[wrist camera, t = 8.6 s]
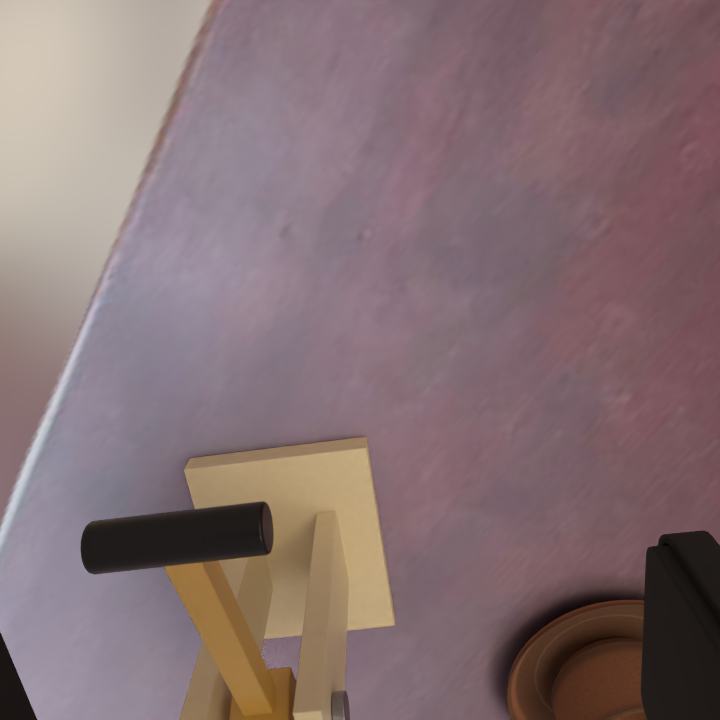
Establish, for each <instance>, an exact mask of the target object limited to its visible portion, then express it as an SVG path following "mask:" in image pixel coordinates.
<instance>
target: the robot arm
mask: <svg viewBox="0 0 720 720" xmlns="http://www.w3.org/2000/svg"><path fill="white" fill-rule="evenodd" d="M641 699H642V704H643V708H644V712H645V715H646V718H647V720H720V546H719V544H718V543H717V542H716V540H715V539H714V538H713V537H712V536H711V535H710V534H709V533H708V532H706V531H694V532H684V533H673V534H664V535H662V536H661V537H660V539H659V543H658V546H653V547H649V548H648V549H647V553H646V571H645V595H644V619H643V643H642V667H641ZM0 720H37V718H36V716H35V714H34V711H33V709H32V707H31V704H30V702H29V699H28V697H27V695H26V692H25V690H24V688H23V685H22V683H21V680H20V678H19V676H18V673H17V671H16V668H15V666H14V664H13V661H12V659H11V657H10V654H9V652H8V649H7V647H6V645H5V642H4V640H3V638H2V635H1V633H0Z"/></svg>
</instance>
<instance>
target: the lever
mask: <svg viewBox="0 0 720 720" xmlns="http://www.w3.org/2000/svg"><path fill="white" fill-rule="evenodd" d="M273 539H274V530H273V520H272V515H271V511H270V508H269V506H268V504H267V502H264V501H260V502H252V503H243V504H235V505H226V506H218V507H209V508H201V509H192V510H184V511H175V512H166V513H158V514H149V515H141V516H132V517H124V518H115V519H107V520H98V521H92V522H91V523H89V524H88V525H87V526H86V527H85V529H84V531H83V534H82V539H81V557H82V562H83V565H84V567H85V569H86V570H87V571H88V572H89V573H91V574H103V573H112V572H121V571H130V570H139V569H147V568H156V567H164V569H165V571H166V572H167V574H168V576H169V578H170V580H171V582H172V584H173V585H174V587H175V589H176V591H177V593H178V595H179V597H180V598H181V600H182V602H183V604H184V606H185V608H186V610H187V612H188V613H189V615H190V617H191V619H192V621H193V623H194V625H195V626H196V628H197V630H198V632H199V634H200V636H201V638H202V639H203V641H204V643H205V645H206V647H207V649H208V651H209V652H210V654H211V656H212V658H213V660H214V662H215V664H216V665H217V667H218V669H219V671H220V673H221V675H222V677H223V678H224V680H225V682H226V684H227V686H228V688H229V690H230V692H231V693H232V699H231V708H230V716H229V720H294V717H293V706H294V698H295V689H296V679H295V677H294V675H293V672H292V670H291V668H289V667H288V668H278V669H267V667H266V665H265V663H264V661H263V658H262V656H261V654H260V652H259V649H258V647H257V645H256V643H255V640H254V638H253V636H252V634H251V632H250V629H249V627H248V625H247V623H246V620H245V618H244V616H243V614H242V611H241V609H240V607H239V605H238V603H237V600H236V598H235V596H234V594H233V591H232V589H231V587H230V585H229V582H228V580H227V578H226V576H225V574H224V571H223V569H222V567H221V565H220V562H219V560H228V559H237V558H246V557H255V556H264V555H268V554H270V553H271V551H272V547H273Z"/></svg>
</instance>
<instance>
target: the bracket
mask: <svg viewBox="0 0 720 720" xmlns="http://www.w3.org/2000/svg"><path fill="white" fill-rule="evenodd" d="M184 473H185V476H186V480H187V484H188V487H189V491H190V494H191V498H192V502H193V505H194V509H201V508H209V507H218V506H226V505H235V504H243V503H252V502H260V501H264V502H267V504H268V506H269V508H270V511H271V515H272V520H273V530H274V539H273V547H272V551H271V553H270V554H268V555H264V556H255V557H246V558H237V559H228V560H219V562H220V565H221V567H222V569H223V571H224V574H225V576H226V578H227V580H228V582H229V585H230V587H231V589H232V591H233V594H234V596H235V598H236V600H237V603H238V605H239V607H240V609H241V611H242V614H243V616H244V618H245V620H246V623H247V625H248V627H249V629H250V632H251V634H252V636H253V638H254V640H255V643H256V645H257V647H258V649H259V652H260V654H261V652H262V647H263V641H264V639H271V638H281V637H290V636H300V635H302V639H301V648H300V656H299V664H298V673H297V681H296V689H295V698H294V706H293V717H294V720H350V712H349V702H348V696H347V693H346V691H345V676H346V650H347V631H348V630H358V629H367V628H377V627H387V626H394V625H395V615H394V605H393V599H392V593H391V586H390V580H389V574H388V567H387V561H386V555H385V548H384V542H383V536H382V529H381V523H380V517H379V510H378V504H377V498H376V491H375V485H374V479H373V472H372V466H371V460H370V453H369V447H368V441H367V437H359V438H351V439H342V440H334V441H326V442H318V443H310V444H301V445H293V446H285V447H277V448H269V449H260V450H252V451H244V452H236V453H228V454H220V455H211V456H203V457H195V458H190V459H189V461H188V463H187V465H186V467H185V469H184ZM231 699H232V693H231V692H230V690H229V688H228V686H227V684H226V682H225V680H224V678H223V677H222V675H221V673H220V671H219V669H218V667H217V665H216V664H215V662H214V660H213V658H212V656H211V654H210V652H209V651H208V649H207V647H206V645H205V643H204V641H203V642H202V646H201V649H200V652H199V656H198V659H197V662H196V666H195V669H194V672H193V676H192V679H191V682H190V686H189V689H188V692H187V696H186V699H185V703H184V706H183V709H182V713H181V716H180V719H179V720H229V716H230V708H231Z"/></svg>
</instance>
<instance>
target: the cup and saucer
mask: <svg viewBox="0 0 720 720" xmlns="http://www.w3.org/2000/svg"><path fill="white" fill-rule="evenodd" d="M643 619H644V601H643V600H615V601H606V602H600V603H595V604H591V605H588V606H584V607H581V608H578V609H576V610H573V611H571V612H569V613H566V614H564V615H562V616H561V617H559V618H557V619H555V620H554V621H552V622H550V623H549V624H547V625H546V626H545V627H543V628H542V629H541V630H539V631H538V632H537V633H536V634H535V635H534V636H533V637H532V638H531V639H530V640H529V641H528V642H527V643H526V644H525V645H524V647H523V648H522V649H521V651H520V652H519V654H518V655H517V657H516V659H515V661H514V663H513V665H512V667H511V670H510V674H509V678H508V683H507V706H508V711H509V715H510V717H511V720H647V718H646V715H645V712H644V708H643V704H642V699H641V667H642V643H643Z"/></svg>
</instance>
